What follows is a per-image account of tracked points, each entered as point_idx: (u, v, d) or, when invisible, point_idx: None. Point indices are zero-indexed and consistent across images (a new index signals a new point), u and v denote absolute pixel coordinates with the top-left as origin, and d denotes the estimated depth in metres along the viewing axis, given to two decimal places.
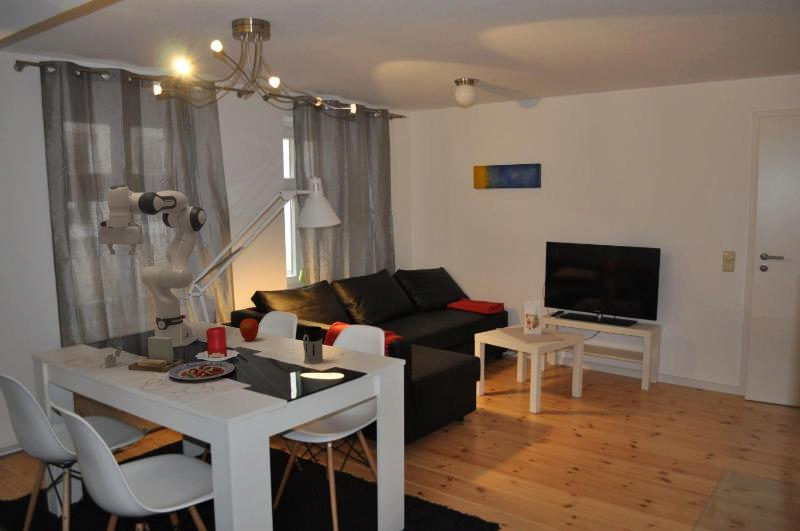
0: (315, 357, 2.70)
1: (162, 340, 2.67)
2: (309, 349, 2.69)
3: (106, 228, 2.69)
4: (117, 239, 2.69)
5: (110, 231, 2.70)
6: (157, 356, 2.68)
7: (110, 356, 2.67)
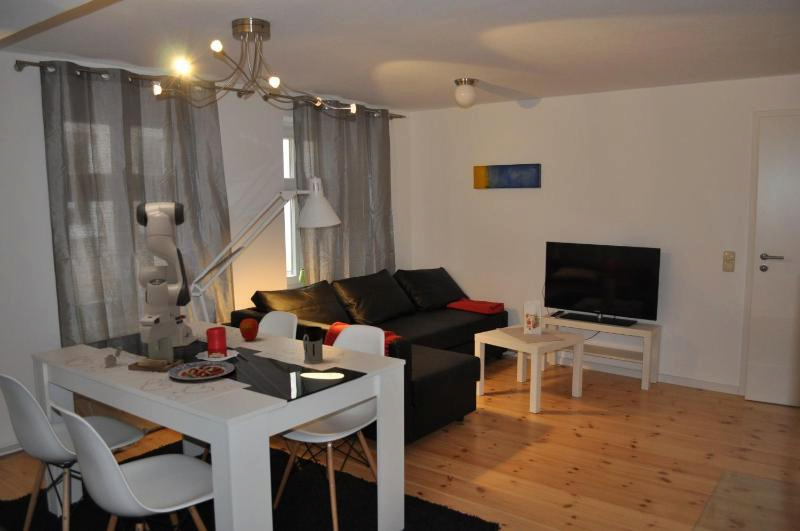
0: (315, 357, 2.70)
1: (162, 340, 2.67)
2: (309, 349, 2.69)
3: (157, 325, 2.63)
4: (162, 333, 2.68)
5: (157, 327, 2.64)
6: (157, 356, 2.68)
7: (110, 356, 2.67)
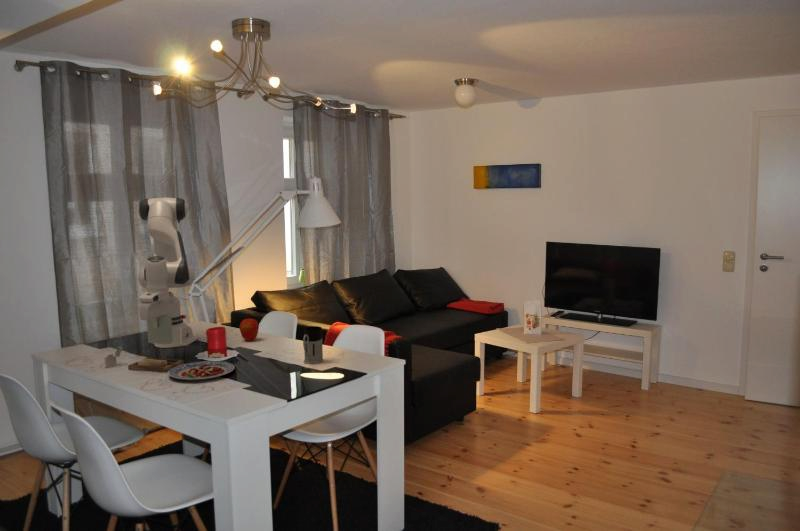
0: (315, 357, 2.70)
1: (161, 317, 2.66)
2: (309, 349, 2.69)
3: (156, 302, 2.62)
4: (161, 311, 2.67)
5: (156, 305, 2.63)
6: (156, 333, 2.68)
7: (110, 356, 2.67)
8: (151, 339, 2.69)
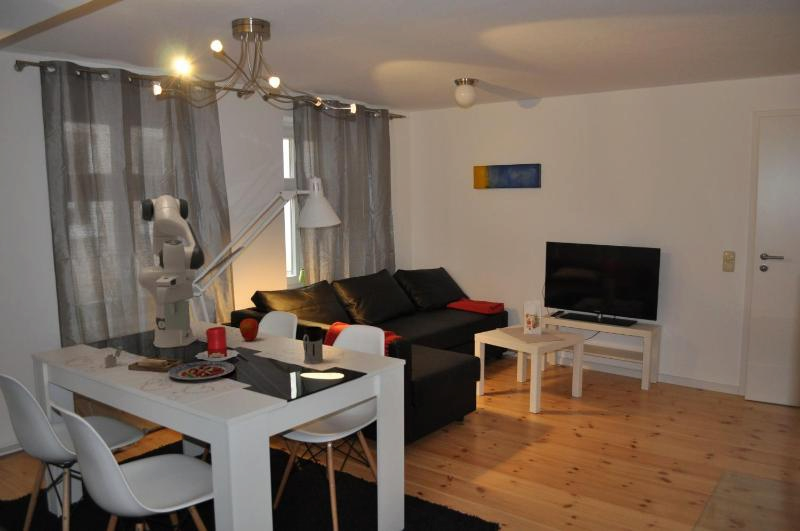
0: (315, 357, 2.70)
1: (178, 303, 2.58)
2: (309, 349, 2.69)
3: (173, 286, 2.54)
4: (179, 296, 2.59)
5: (173, 289, 2.56)
6: (173, 319, 2.60)
7: (110, 356, 2.67)
8: (168, 326, 2.61)
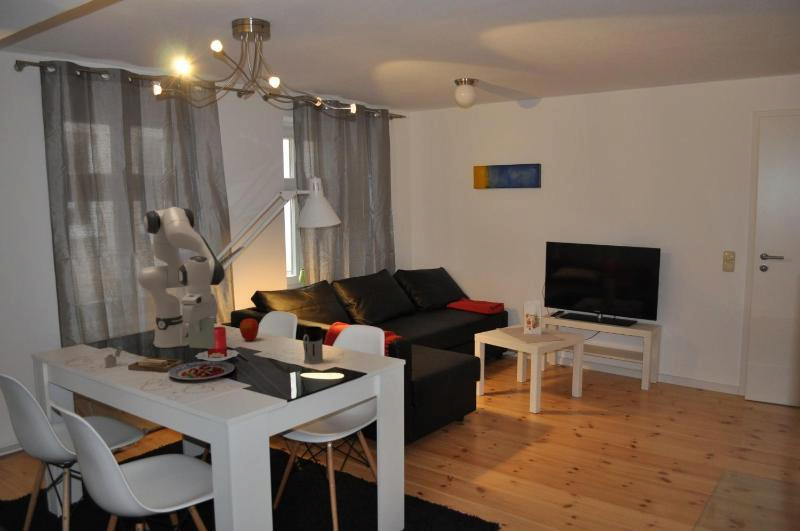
0: (315, 357, 2.70)
1: (203, 320, 2.52)
2: (309, 349, 2.69)
3: (199, 304, 2.48)
4: (204, 314, 2.53)
5: (199, 307, 2.50)
6: (198, 337, 2.54)
7: (110, 356, 2.67)
8: (192, 344, 2.55)
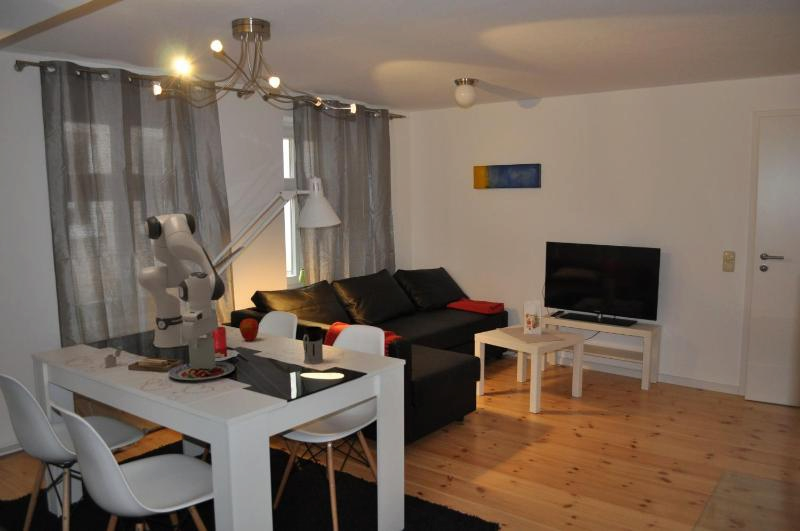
0: (315, 357, 2.70)
1: (204, 341, 2.53)
2: (309, 349, 2.69)
3: (200, 320, 2.49)
4: (204, 330, 2.54)
5: (199, 323, 2.50)
6: (198, 358, 2.55)
7: (110, 356, 2.67)
8: (193, 364, 2.56)
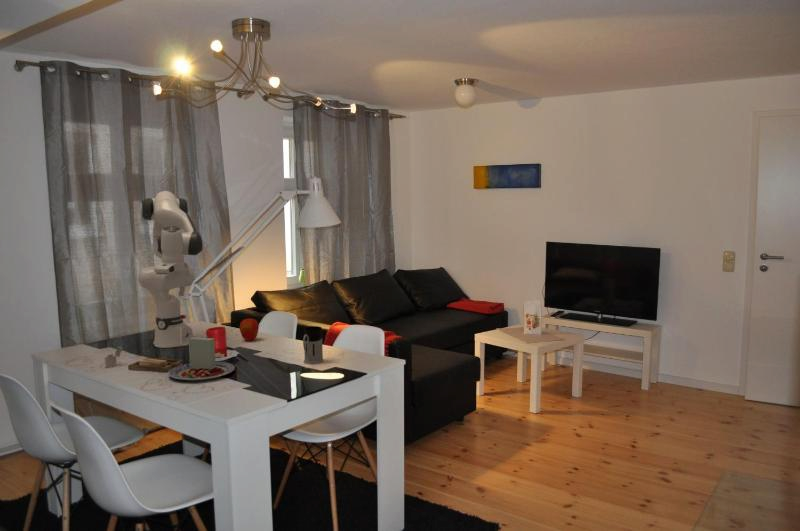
0: (315, 357, 2.70)
1: (204, 341, 2.53)
2: (309, 349, 2.69)
3: (172, 273, 2.56)
4: (177, 283, 2.61)
5: (171, 276, 2.57)
6: (198, 358, 2.55)
7: (110, 356, 2.67)
8: (193, 364, 2.56)
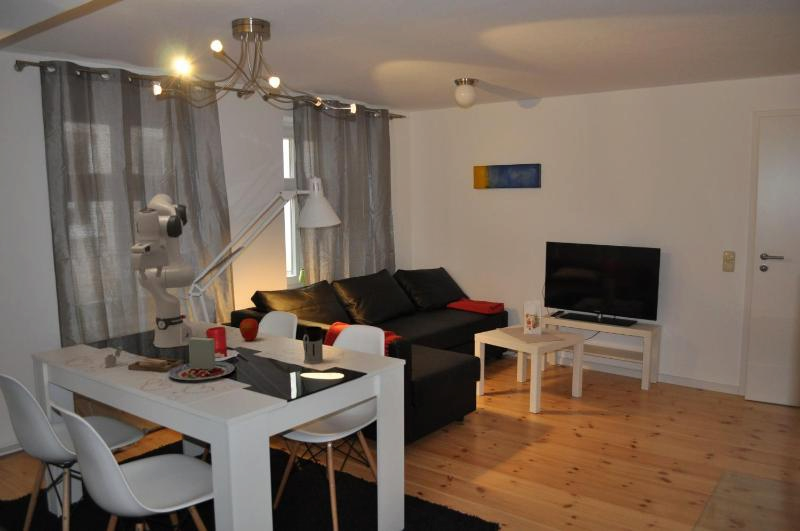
0: (315, 357, 2.70)
1: (204, 341, 2.53)
2: (309, 349, 2.69)
3: (148, 253, 2.63)
4: (153, 263, 2.68)
5: (148, 256, 2.65)
6: (198, 358, 2.55)
7: (110, 356, 2.67)
8: (193, 364, 2.56)
